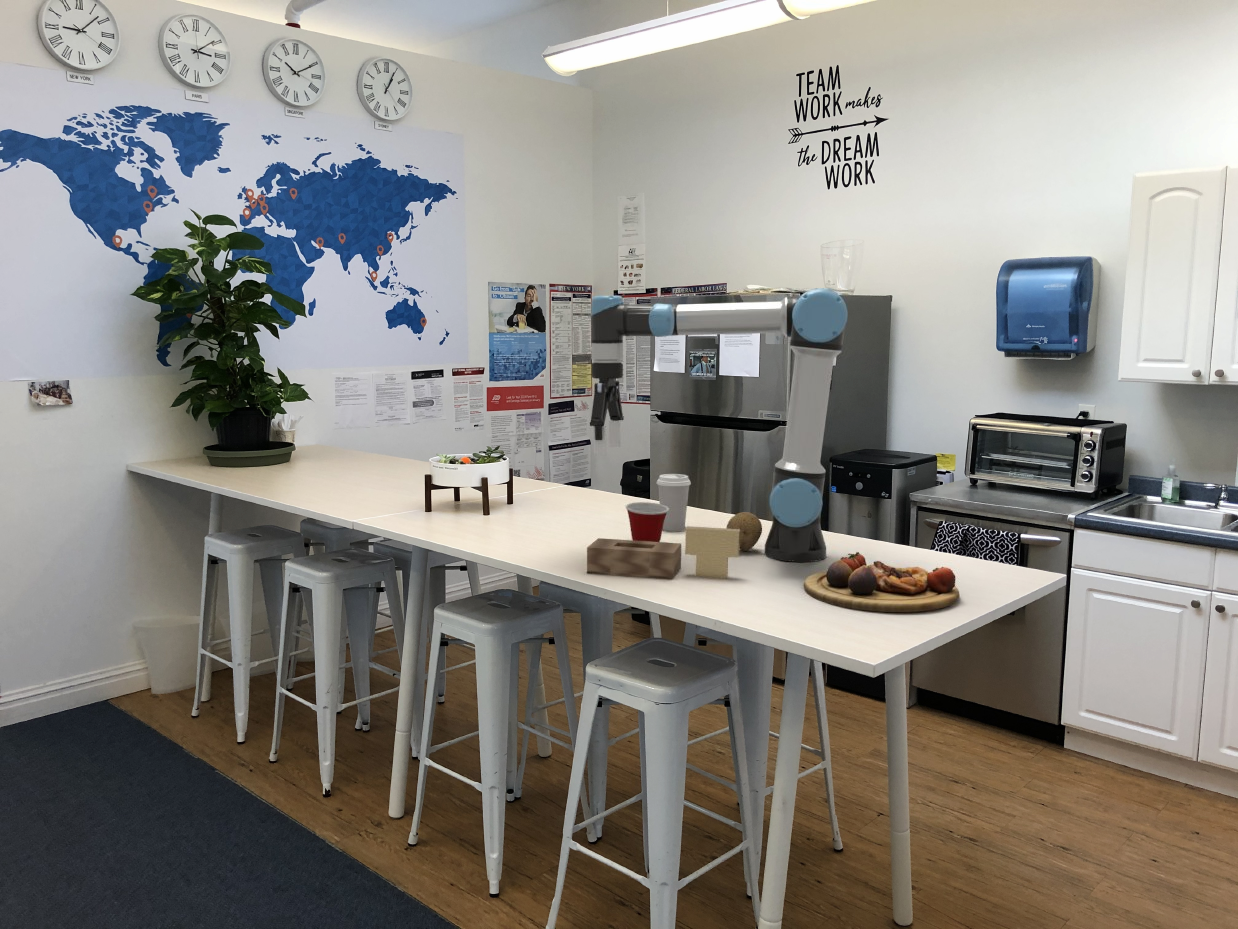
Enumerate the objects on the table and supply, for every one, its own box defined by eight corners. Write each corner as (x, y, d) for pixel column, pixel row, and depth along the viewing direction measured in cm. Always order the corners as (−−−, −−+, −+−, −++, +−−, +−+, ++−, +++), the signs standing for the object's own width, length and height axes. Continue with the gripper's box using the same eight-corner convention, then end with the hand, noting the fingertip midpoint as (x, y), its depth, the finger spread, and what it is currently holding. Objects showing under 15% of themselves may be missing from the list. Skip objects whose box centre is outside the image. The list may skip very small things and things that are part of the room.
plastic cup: (644, 560, 231) (645, 511, 230) (616, 552, 240) (616, 505, 238) (677, 554, 238) (678, 506, 237) (648, 546, 247) (649, 500, 245)
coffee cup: (687, 533, 262) (688, 479, 260) (653, 531, 264) (653, 478, 262) (692, 526, 271) (693, 474, 269) (658, 524, 273) (659, 472, 271)
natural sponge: (746, 556, 236) (747, 517, 235) (718, 550, 242) (719, 512, 241) (768, 551, 242) (769, 512, 241) (739, 545, 249) (740, 507, 247)
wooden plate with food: (983, 593, 207) (984, 555, 206) (918, 624, 183) (920, 582, 182) (848, 570, 228) (850, 536, 227) (775, 596, 204) (776, 558, 203)
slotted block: (680, 568, 224) (681, 543, 223) (673, 579, 214) (673, 553, 213) (598, 562, 229) (598, 538, 228) (586, 573, 219) (586, 547, 218)
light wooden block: (738, 576, 217) (740, 529, 215) (737, 579, 215) (738, 531, 213) (686, 573, 220) (687, 526, 218) (684, 575, 217) (685, 528, 216)
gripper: (605, 359, 240) (606, 443, 243) (576, 363, 217) (577, 456, 219) (634, 360, 239) (634, 444, 242) (608, 363, 215) (609, 457, 218)
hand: (607, 450), depth 231 cm, fingers open, 13 cm apart
